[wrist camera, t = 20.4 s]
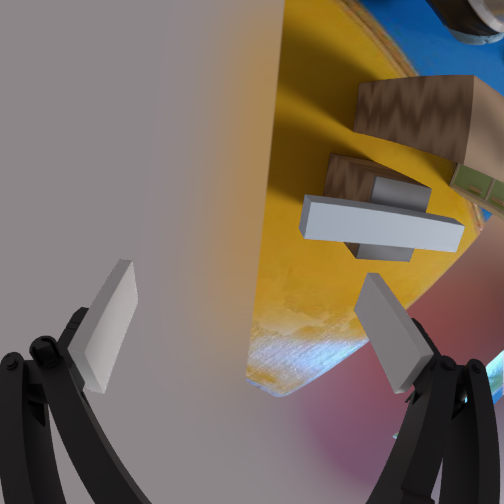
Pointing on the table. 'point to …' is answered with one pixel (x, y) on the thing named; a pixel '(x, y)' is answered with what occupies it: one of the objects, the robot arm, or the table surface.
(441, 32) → the table surface
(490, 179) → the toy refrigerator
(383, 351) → the robot arm
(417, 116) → the tower
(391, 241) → the slat
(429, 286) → the table surface
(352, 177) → the step block
